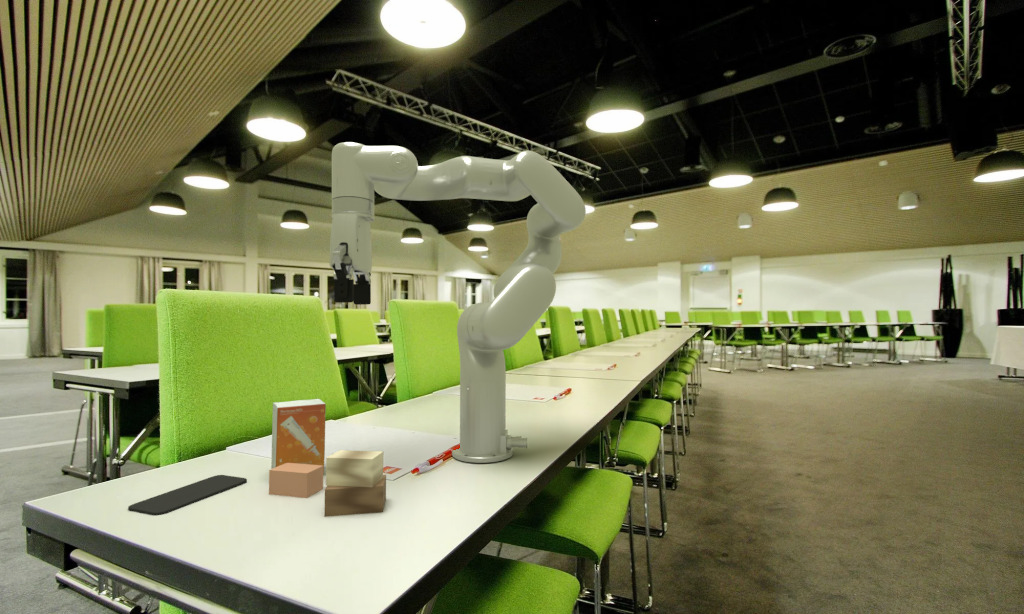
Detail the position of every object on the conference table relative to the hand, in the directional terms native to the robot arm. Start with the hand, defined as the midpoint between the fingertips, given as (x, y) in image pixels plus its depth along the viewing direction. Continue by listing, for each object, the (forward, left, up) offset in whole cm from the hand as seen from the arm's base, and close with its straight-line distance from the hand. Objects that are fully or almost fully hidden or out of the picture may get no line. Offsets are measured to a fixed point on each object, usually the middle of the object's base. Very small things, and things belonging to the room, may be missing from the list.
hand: (353, 303), depth 85 cm
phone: (+21, +12, -32) cm, 40 cm away
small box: (+9, +2, -31) cm, 33 cm away
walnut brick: (-7, +15, -31) cm, 36 cm away
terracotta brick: (+5, +10, -31) cm, 33 cm away
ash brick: (-7, +16, -27) cm, 32 cm away
